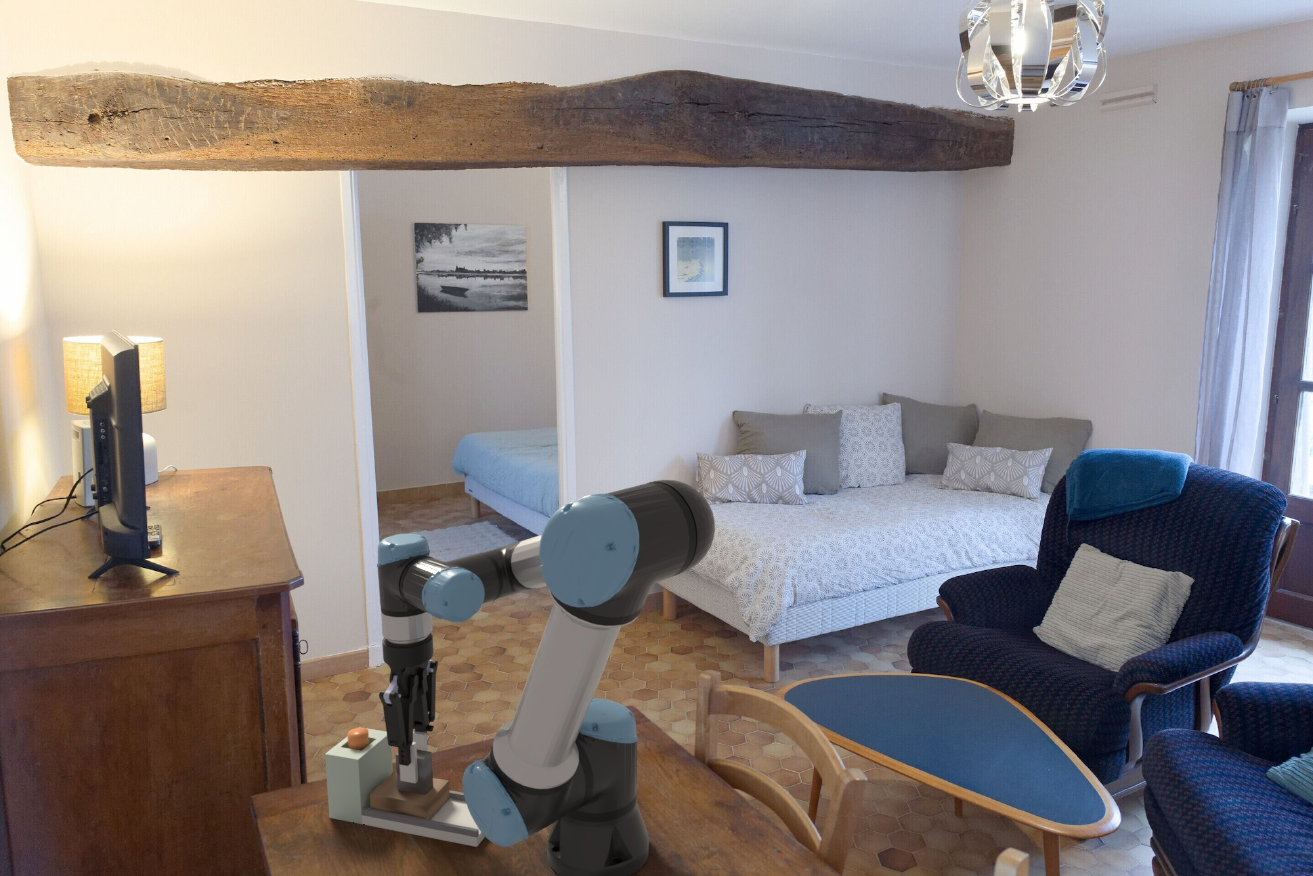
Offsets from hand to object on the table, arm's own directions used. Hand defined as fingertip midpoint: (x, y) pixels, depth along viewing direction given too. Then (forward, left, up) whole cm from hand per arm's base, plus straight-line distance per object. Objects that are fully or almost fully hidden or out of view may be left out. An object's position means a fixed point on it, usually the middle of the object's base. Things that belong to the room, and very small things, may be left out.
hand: (414, 775), depth 146 cm
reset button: (+10, 0, +3) cm, 11 cm away
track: (-3, 0, -7) cm, 8 cm away
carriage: (+1, 0, -5) cm, 5 cm away
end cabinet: (+10, 0, -7) cm, 12 cm away
